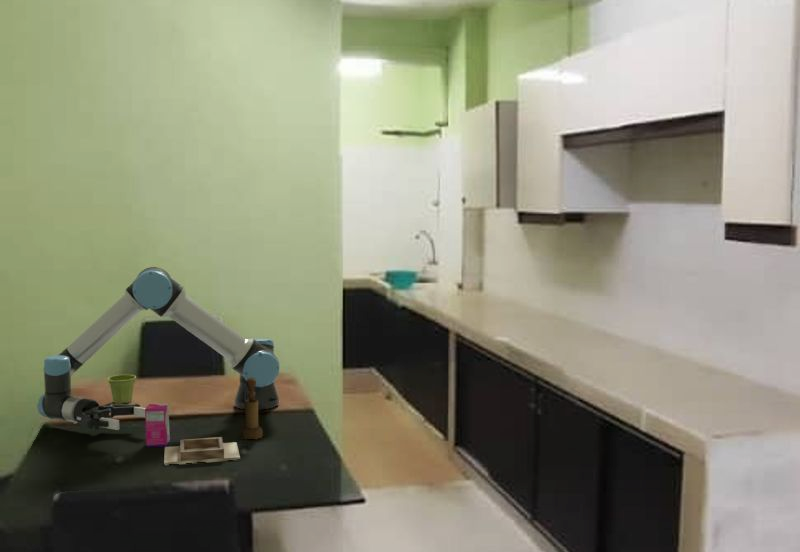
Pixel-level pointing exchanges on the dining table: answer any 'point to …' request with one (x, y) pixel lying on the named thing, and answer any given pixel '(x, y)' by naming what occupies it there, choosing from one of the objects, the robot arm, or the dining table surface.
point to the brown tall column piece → (251, 414)
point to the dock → (201, 451)
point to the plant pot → (122, 388)
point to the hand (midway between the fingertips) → (135, 419)
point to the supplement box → (157, 425)
